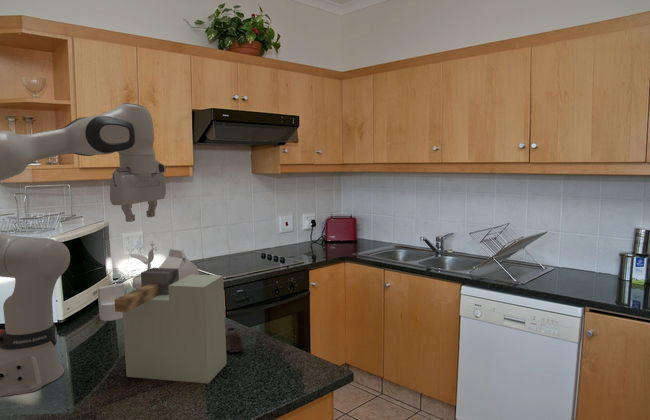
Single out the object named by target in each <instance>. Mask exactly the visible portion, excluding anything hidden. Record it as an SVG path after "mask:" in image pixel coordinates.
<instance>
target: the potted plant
mask: <svg viewBox="0 0 650 420" xmlns="http://www.w3.org/2000/svg"><path fill="white" fill-rule="evenodd" d="M150 246H151V249H150V250H149V251H148V254H147V256H145V255H141V254H135V253H134V254H133V253H132V254H129V256H130V257H131V258H135V259H136V260H139V261H140V262H141V263H143V264H144V265H147V269H146V270H148V269H151V268H152V265H151V263H152V262H153V261H154V256H155V254H154V251H155V252H157V251H158V249H157V246H156V247H154V246H155V243H154V242H153V240H152V241H151V244H150ZM132 287H133V288H134V289H135V290H137V289H139V288H141V287H142V285H141V273H139V274H138V275H136V276H133V278H132Z"/></svg>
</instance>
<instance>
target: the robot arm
mask: <svg viewBox="0 0 650 420" xmlns="http://www.w3.org/2000/svg"><path fill="white" fill-rule="evenodd" d="M154 142H155V131H154V121H153V117H152V114H151V111H150V110H149V109H148V108H146V107H145V106H143V105H141V104H136V103H129V102H126V103H125V102H124V103H120V104H118V106H116V107H115V108H113V109H111V110H108V111H105V112H103V113H101V114H97V115H93V116H89V117H88V116H87V117H79V118H76V119H74V120H72V121H70V122H69V123H67V125H65V126H64V127H61V128H58V129H54V130H47V131H43V132H36V133H28V134H23V133H21V134H20V133H15V132H12V131H10V130H4V129H3V130H0V182H1V181H4V180H7V179H10V178H13V177H15V176H18V175H20V174H22V173H23V172H24V171H25V170H26V168H27V167H28V166H29V165H31V164H32V163H35V162H37V161H39V160H45V159H48V158H49V159H50V158H52V157H57V156H63V155H68V154H72V155H78V156H84V157H91V156H92V157H93V156H100V155H101V156H102V155H111V154H114V153H116V152H117V153H118V160H119V167H116V168H115V169H114V171H113V172H112V174H111V179H110V182H109V183H110V185H109V201H110V203H111V204H112V206H121V207H120V208H121V210H122V212H123V214H124V216H125V222H126V223H131V222H135V221H136V214H133V211H132V209H133V205H134V204H140V203H146V202H147V205H148V209H147V210H146V212H145V213H146V217H147V218H155V216H156V209H157V206H158V201H159V200H164V199H165V197H166V194H167V184H166V183H167V182H166V176H165V174H164V173H166V171H167V170H166V165H165V164H163V163H161V162H160V161H158V160H157V159H156V154H155V150H154ZM70 254H71V253H70V250H69V248H68V247H67V246H66V245H65V243H63V242H61V241H58V240H55V239H51V238H49V237H37V236H19V235H18V236H17V235H10V234H4V233H0V278H1V277H2V278H12V279H14V280H15V283H14V289H13V291H12V293H11V295H10V296H8V297H7V298H6V299H5V300H4V302H3V306H2V307H3V308H2V309H3V319H4V328H5V329H4V328H3V329H2V328H1V329H0V397H7V396H13V395H20V394H27V393H33V392H36V391H38V390H40V389H41V388H42V387H44V386H45V385H48V384H50V383H52V382H54V381H56V380H57V379H60V378H61V377H62V376H63V375H64V373H65V368H64V367H63V365H62V361H61V359H60V356H59V352H58V348H57V347H58V346H57V343H58V332H57V327H56V323H55V322H54V311H53V310H54V309H53V308H54V307H53V297H54V296H53V294H54V290H55V286H56V284H57V281H58V280H59V278H60V277H61V276H62V275H63V274H64V273H66V271H67V270H68V268H69V266H70V263H71V255H70Z"/></svg>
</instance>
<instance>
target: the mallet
mask: <svg viewBox="0 0 650 420" xmlns="http://www.w3.org/2000/svg"><path fill="white" fill-rule="evenodd" d="M140 274H141V285H142V287H141V288H139V289H137V290H136V289H135V290H132V291H129V292H128V293H126V294H124V295H123V296H121V297H119V298H117V299H115V312H128V311H129V310H131V309H133V308H135V307H137V306H139V305H141V304H143V303H145V302H147V301H149V300H151V299H153V298H155V297H157V296H159V295H169V285H171V284H173V283H175V282H177V281H179V270H178V268H159V267H151V268H150V269H148V270H147V269H146V270H144V271H142V272H140Z"/></svg>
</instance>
